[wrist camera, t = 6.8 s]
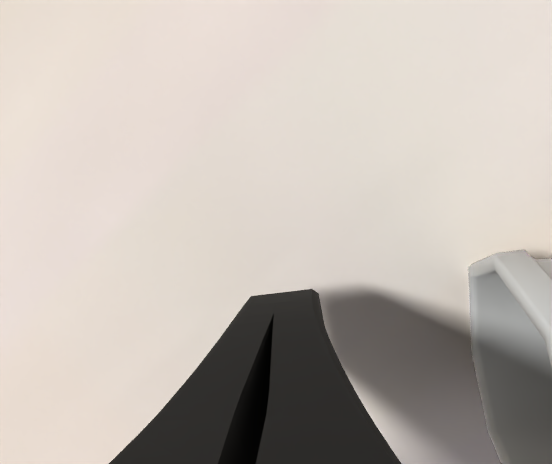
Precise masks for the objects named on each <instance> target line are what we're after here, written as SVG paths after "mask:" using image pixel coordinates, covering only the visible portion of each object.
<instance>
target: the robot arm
mask: <svg viewBox="0 0 552 464" xmlns="http://www.w3.org/2000/svg"><path fill="white" fill-rule="evenodd" d="M109 464H401V462H400V461H399V459H398V458H397V457H396V455H395V454H394V452H393V451H392V449H391V448H390V446H389V445H388V443H387V442H386V440H385V439H384V437H383V436H382V434H381V433H380V431H379V430H378V428H377V427H376V425H375V424H374V422H373V420H372V419H371V417H370V416H369V414H368V412H367V411H366V409H365V407H364V406H363V404H362V402H361V401H360V399H359V397H358V395H357V394H356V392H355V390H354V388H353V386H352V385H351V383H350V381H349V379H348V377H347V375H346V373H345V371H344V370H343V368H342V366H341V363H340V361H339V359H338V357H337V355H336V353H335V350H334V348H333V346H332V344H331V342H330V339H329V337H328V334H327V332H326V329H325V326H324V321H323V315H322V310H321V305H320V299H319V294H318V293H317V292H315V291H314V290H313V289H309V290H300V291H292V292H283V293H275V294H266V295H258V296H251V297H250V298H249V300H248V301H247V302H246V303H245V305H244V306H243V307H242V309H241V310H240V311H239V313H238V314H237V315H236V317H235V318H234V320H233V321H232V322H231V324H230V325H229V326H228V328H227V329H226V331H225V332H224V333H223V335H222V336H221V337H220V339H219V340H218V341H217V343H216V344H215V345H214V347H213V348H212V349H211V351H210V352H209V353H208V354H207V356H206V357H205V358H204V360H203V361H202V362H201V363H200V365H199V366H198V367H197V369H196V370H195V371H194V372H193V374H192V375H191V376H190V377H189V379H188V380H187V381H186V382H185V383H184V384H183V386H182V387H181V388H180V389H179V390H178V391H177V393H176V394H175V395H174V396H173V397H172V398H171V400H170V401H169V402H168V403H167V404H166V405H165V407H164V408H163V409H162V410H161V411H160V412H159V413H158V414H157V416H156V417H155V418H154V419H153V420H152V421H151V422H150V423H149V424H148V425H147V426H146V427H145V428H144V429H143V430H142V431H141V432H140V434H139V435H138V436H137V437H136V438H135V439H134V440H132V441H131V442H130V443H129V444H128V445H127V446H126V447H125V448H124V449H123V450H122V451H121V452H120V453H119V454H118V455H117V456H116V457H115V458H114V459H113V460H112V461H111V462H110V463H109Z"/></svg>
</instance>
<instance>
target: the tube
mask: <svg viewBox="0 0 552 464" xmlns="http://www.w3.org/2000/svg"><path fill="white" fill-rule="evenodd" d="M468 276H469V302H470V329H471V353H472V358H473V363H474V368H475V372H476V377H477V382H478V387H479V391H480V396H481V401H482V406H483V410H484V415H485V420H486V425H487V429H488V433H489V436H490V438H491V441H492V443H493V445H494V448H495V450H496V452H497V455H498V457H499V460H500V462H501V464H552V258H549V259H535V258H533V257H532V256H530V255H529V254H528V253H527V252H526V251H525V250H517V251H509V252H501V253H496V254H493V255H491V256H489V257H486V258H484V259H482V260H479V261H477V262H475V263H473V264H471V265H470V266H469V267H468Z"/></svg>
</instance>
